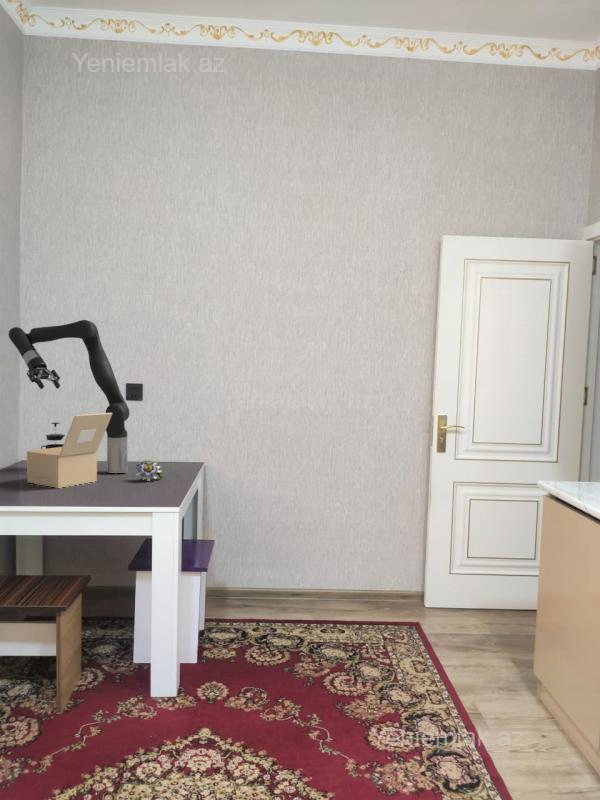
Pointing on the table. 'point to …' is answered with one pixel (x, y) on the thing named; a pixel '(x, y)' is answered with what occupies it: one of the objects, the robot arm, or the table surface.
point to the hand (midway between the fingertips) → (50, 387)
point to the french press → (54, 439)
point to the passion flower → (148, 470)
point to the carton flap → (85, 433)
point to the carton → (61, 468)
